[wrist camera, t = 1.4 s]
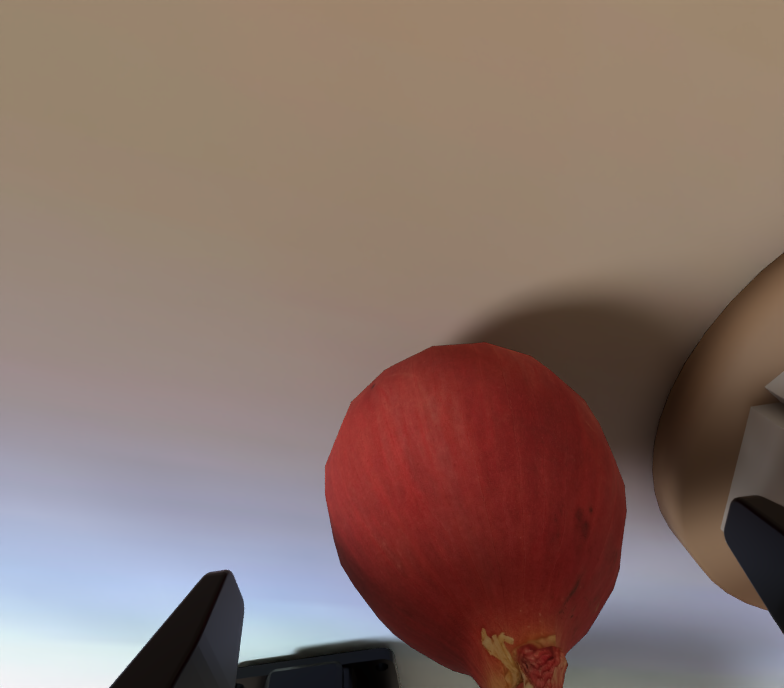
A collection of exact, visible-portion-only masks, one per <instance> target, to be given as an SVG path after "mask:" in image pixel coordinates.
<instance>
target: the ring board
mask: <svg viewBox="0 0 784 688" xmlns="http://www.w3.org/2000/svg"><path fill="white" fill-rule="evenodd" d="M652 472H653V481H654V490H655V495H656V498H657V501H658V504H659V508H660V511H661V513H662V515H663V517H664V519H665V520H666V522H667V524H668V526H669V528H670V529H671V531H672V532H673V533H674V534H675V536H676V537H677V538H678V539H679V541H680V542H681V543H682V545H683V546H684V547H685V548H686V550H687V551H688V552H689V553H690V555H691V556H692V557H693V559H694V560H695V561H696V562H697V564H698V565H699V566H700V567H701V569H702V570H703V571H704V572H705V573H706V575H707V576H708V577H709V578H710V579H711V580H712V581H713V582H714V583H715V584H716V585H718V586H719V587H720V588H721V589H723V590H724V591H725V592H726V593H728V594H730V595H732V596H734V597H735V598H737V599H739V600H741V601H743V602H745V603H747V604H750V605H753V606H756V607H759V608H762V609H764V610H768V609H767V608H766V606H765V604H764V603H763V601H762V600H761V598H760V596H759V595H758V593H757V592H756V590H755V588H754V587H753V585H752V584H751V582H750V580H749V579H748V577H747V576H746V574H745V572H744V571H743V569H742V568H741V566H740V564H739V563H738V561H737V560H736V558H735V556H734V555H733V553H732V552H731V550H730V548H729V547H728V545H727V543H726V540H725V537H724V526H725V522H726V518H727V514H728V510H729V506H730V503H731V501H732V500H733V499H734V498H737V497H743V496H750V495H759V496H762V497H765V498H767V499H769V500H771V501H773V502H776V503H778V504H780V505H782V506H784V253H783V254H782V255H780V256H779V257H778V258H777V259H776V260H774V261H773V262H772V263H771V264H770V265H768V266H767V267H766V268H765V269H764V270H762V271H761V272H760V273H759V274H758V275H757V276H756V277H755V278H754V279H753V280H752V281H751V282H750V283H749V284H748V285H747V286H746V287H745V288H744V289H743V290H742V291H741V292H740V293H739V294H738V295H737V296H736V297H735V298H734V299H733V300H732V301H731V302H730V304H729V305H728V306H727V307H726V308H725V310H724V311H723V312H722V313H721V314H720V316H719V317H718V318H717V319H716V321H715V322H714V323H713V324H712V325H711V327H710V328H709V329H708V330H707V331H706V333H705V334H704V336H703V337H702V339H701V340H700V342H699V343H698V345H697V346H696V348H695V349H694V351H693V352H692V354H691V355H690V357H689V358H688V360H687V361H686V363H685V365H684V366H683V368H682V370H681V372H680V374H679V376H678V378H677V380H676V382H675V384H674V386H673V388H672V389H671V391H670V394H669V397H668V399H667V402H666V405H665V407H664V410H663V413H662V415H661V418H660V421H659V426H658V430H657V435H656V439H655V443H654V453H653V467H652Z"/></svg>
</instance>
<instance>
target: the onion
mask: <svg viewBox="0 0 784 688" xmlns="http://www.w3.org/2000/svg"><path fill="white" fill-rule="evenodd" d="M325 496H326V502H327V507H328V512H329V517H330V523H331V528H332V533H333V538H334V542H335V546H336V549H337V553H338V556H339V560H340V564H341V566H342V567H343V569H344V570H345V572H346V574H347V575H348V577H349V579H350V580H351V582H352V584H353V585H354V587H355V588H356V589H357V591H358V592H359V593H360V595H361V596H362V597H363V599H364V600H365V601H366V603H367V604H368V605H369V607H370V608H371V609H372V610H373V612H374V613H375V614H376V616H377V617H378V618H379V619H380V621H381V622H382V623H383V624H384V625H385V626H386V627H387V628H388V629H389V630H390V631H391V632H392V633H393V634H394V635H395V636H397V637H398V638H399V639H401V640H402V641H403V642H405V643H406V644H407V645H409V646H410V647H411V648H413V649H415V650H417V651H418V652H420V653H422V654H423V655H425V656H427V657H428V658H430V659H432V660H433V661H435V662H437V663H438V664H440V665H442V666H444V667H446V668H448V669H450V670H452V671H455V672H459V673H462V674H466V675H469V676H471V677H472V678H473V679H474V680H475V681H476V683H477V684H478V685H479V687H480V688H562V687H563V683H564V678H565V672H566V669H567V666H568V663H567V661H566V658H565V656H566V654H567V652H568V651H569V650H570V649H571V648H572V647H573V646H574V645H576V644H577V643H578V642H579V641H580V640H581V639H582V638H583V637H584V636H585V635H586V634H587V632H588V631H589V629H590V628H591V626H592V624H593V623H594V621H595V620H596V618H597V616H598V615H599V613H600V611H601V609H602V608H603V606H604V604H605V603H606V601H607V599H608V598H609V596H610V594H611V593H612V591H613V589H614V586H615V582H616V579H617V576H618V572H619V569H620V559H621V549H622V541H623V534H624V526H625V519H626V512H627V509H626V497H625V485H624V483H623V480H622V477H621V475H620V472H619V469H618V466H617V464H616V461H615V459H614V456H613V454H612V452H611V449H610V447H609V445H608V442H607V440H606V438H605V435H604V433H603V431H602V429H601V426H600V424H599V422H598V421H597V419H596V418H595V416H594V415H593V413H592V411H591V410H590V408H589V407H588V405H587V403H586V402H585V400H584V399H583V398H582V397H580V396H579V395H578V394H577V393H576V392H575V391H574V390H572V389H571V388H570V387H569V386H568V385H567V384H565V383H564V382H563V381H562V380H561V379H560V378H559V377H557V376H556V375H555V374H554V373H553V372H552V371H551V370H549V369H548V368H547V367H545V366H544V365H542V364H541V363H540V362H538V361H537V360H536V359H534V358H533V357H532V356H530V355H526V354H523V353H519V352H516V351H513V350H509V349H506V348H503V347H499V346H496V345H492V344H489V343H486V342H482V343H471V344H457V345H443V346H432V347H430V348H428V349H426V350H424V351H422V352H420V353H417V354H415V355H413V356H411V357H409V358H407V359H405V360H403V361H401V362H399V363H397V364H395V365H393V366H391V367H389V368H388V369H386V370H384V371H383V372H382V373H381V374H380V375H379V376H378V377H377V378H376V379H375V380H374V381H373V382H372V383H371V384H370V385H369V386H367V387H366V388H365V389H364V390H363V391H362V392H361V393H360V394H359V395H358V396H357V397H356V398H355V399H354V400H353V401H352V402H351V404H350V406H349V409H348V411H347V413H346V416H345V418H344V420H343V423H342V425H341V428H340V430H339V433H338V435H337V438H336V440H335V443H334V445H333V448H332V450H331V453H330V455H329V458H328V460H327V463H326V465H325Z"/></svg>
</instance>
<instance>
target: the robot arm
mask: <svg viewBox="0 0 784 688" xmlns="http://www.w3.org/2000/svg"><path fill="white" fill-rule="evenodd" d="M724 537H725V540H726V543H727V545H728V547H729V548H730V550H731V552H732V553H733V555H734V556H735V558H736V560H737V561H738V563H739V564H740V566H741V568H742V569H743V571H744V572H745V574H746V576H747V577H748V579H749V580H750V582H751V584H752V585H753V587H754V588H755V590H756V592H757V593H758V595H759V596H760V598H761V600H762V601H763V603H764V604H765V606H766V608H767V609H768V611H769V613H770V614H771V616H772V617H773V619H774V620H775V622H776V623H777V625H778V626H779V628H780V629H781V631H782V633H783V634H784V506H782V505H780V504H778V503H776V502H773V501H771V500H769V499H767V498H765V497H762V496H759V495H750V496H743V497H737V498H734V499H733V500H732V501H731V503H730V506H729V510H728V514H727V518H726V522H725V526H724ZM243 618H244V601H243V598H242V595H241V593H240V590H239V588H238V585H237V583H236V580H235V578H234V575H233V573H232V572H231V571H230V570H221V571H214V572H209V573H207V574H206V575H204V576H203V577H202V578H201V580H200V581H199V582H198V583H197V584H196V585H195V587H194V588H193V589H192V590H191V591H190V593H189V594H188V595H187V596H186V597H185V599H184V600H183V601H182V602H181V603H180V604H179V606H178V607H177V608H176V609H175V610H174V612H173V613H172V614H171V615H170V616H169V618H168V619H167V620H166V621H165V622H164V623H163V625H162V626H161V627H160V628H159V629H158V631H157V632H156V633H155V634H154V635H153V636H152V638H151V639H150V640H149V641H148V642H147V644H146V645H145V646H144V647H143V648H142V650H141V651H140V652H139V653H138V654H137V655H136V657H135V658H134V659H133V660H132V661H131V663H130V664H129V665H128V666H127V667H126V669H125V670H124V671H123V672H122V673H121V674H120V676H119V677H118V678H117V679H116V680H115V682H114V683H113V684H112V685H111V686H110V687H109V688H401V685H400V680H399V675H398V670H397V666H396V661H395V656H394V653H393V651H391V650H390V649H387V648H376V649H369V650H362V651H355V652H348V653H341V654H334V655H326V656H319V657H312V658H305V659H298V660H291V661H284V662H277V663H270V664H262V665H255V666H248V667H241V668H237V667H238V659H239V651H240V642H241V634H242V626H243Z"/></svg>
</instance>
